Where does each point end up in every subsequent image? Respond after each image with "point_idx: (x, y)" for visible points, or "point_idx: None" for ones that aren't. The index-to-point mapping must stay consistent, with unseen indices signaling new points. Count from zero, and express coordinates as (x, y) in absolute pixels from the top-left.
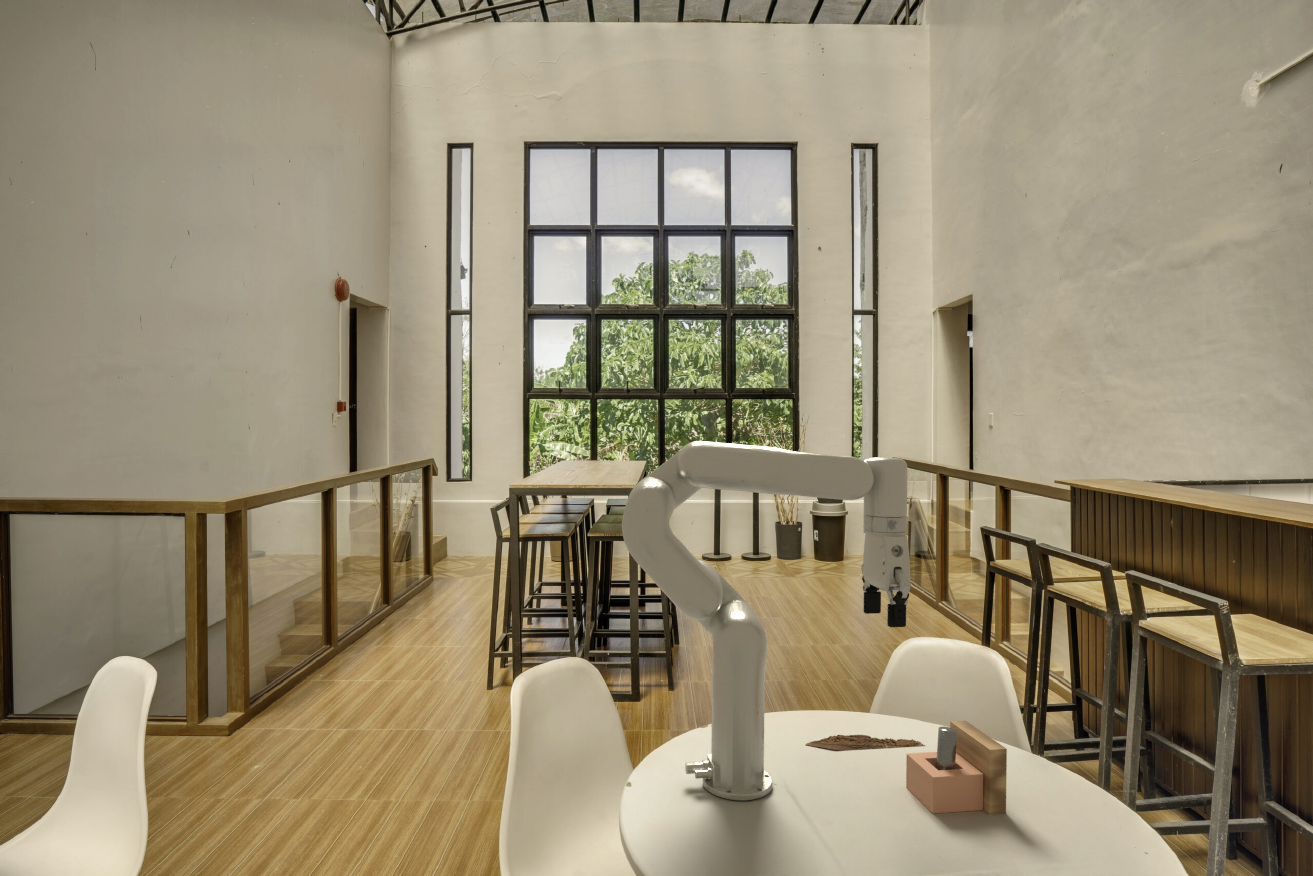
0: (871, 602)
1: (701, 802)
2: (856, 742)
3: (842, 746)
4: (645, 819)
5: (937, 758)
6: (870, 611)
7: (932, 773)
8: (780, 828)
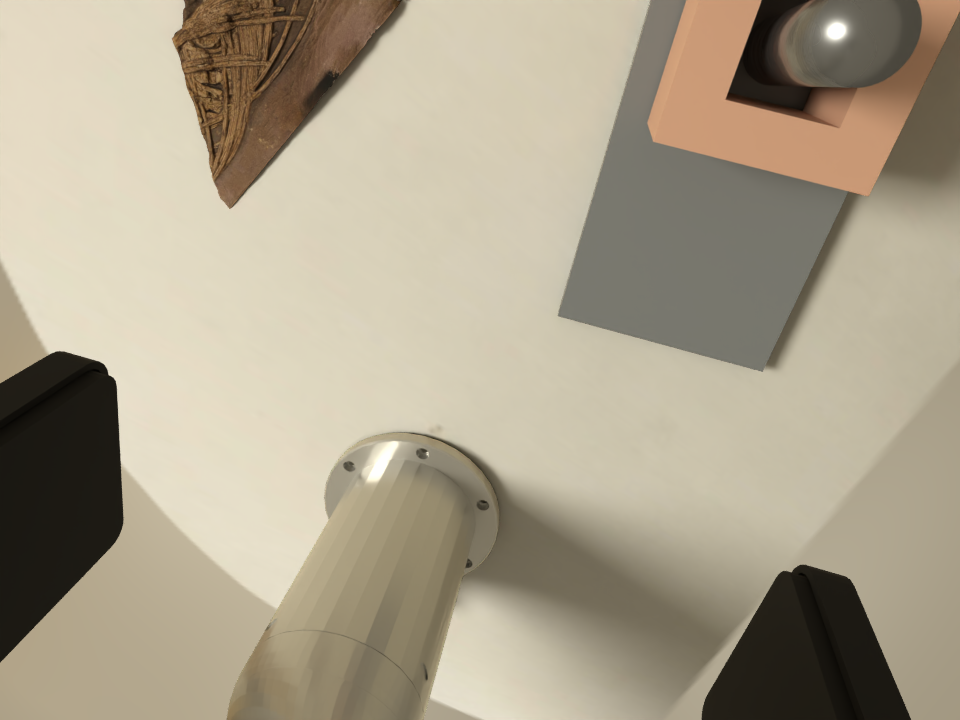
0: (9, 576)
1: (464, 601)
2: (252, 21)
3: (268, 94)
4: (489, 701)
5: (798, 84)
6: (104, 497)
7: (845, 174)
8: (634, 531)
